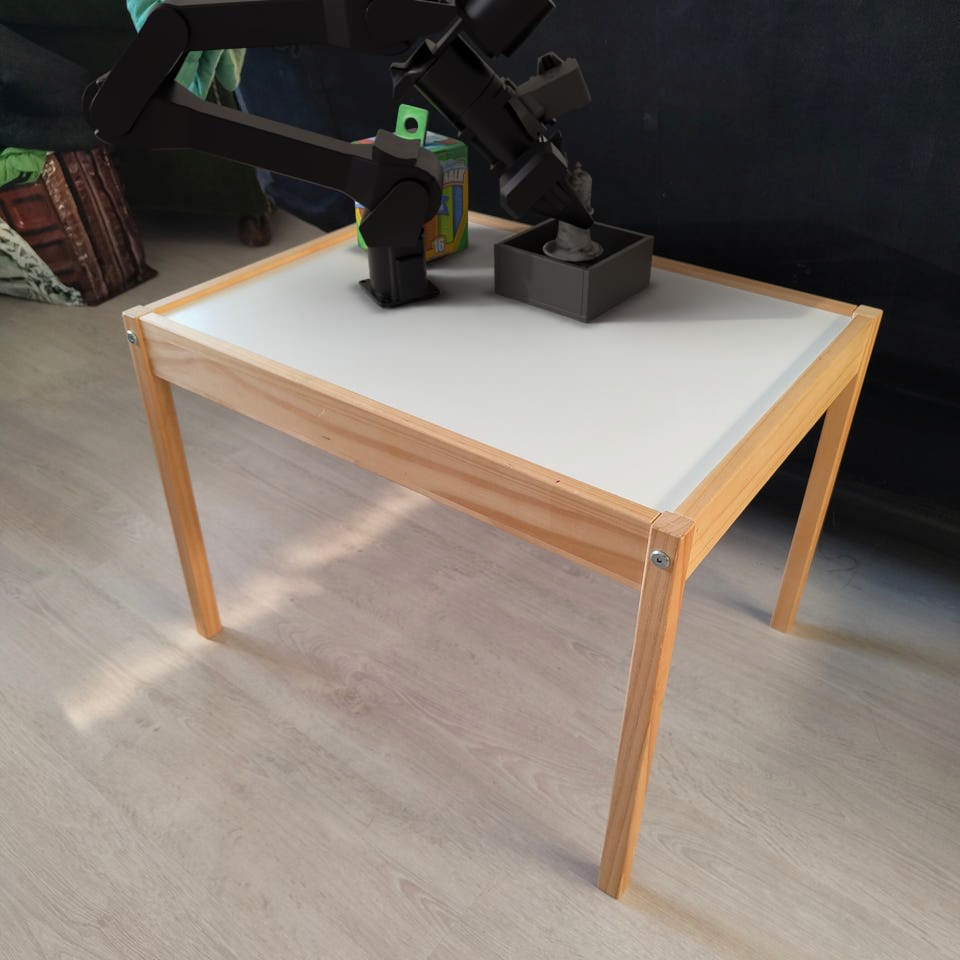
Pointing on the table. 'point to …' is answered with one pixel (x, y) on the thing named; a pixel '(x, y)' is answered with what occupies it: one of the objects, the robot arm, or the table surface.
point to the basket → (573, 270)
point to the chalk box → (452, 217)
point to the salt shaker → (576, 229)
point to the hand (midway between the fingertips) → (588, 218)
